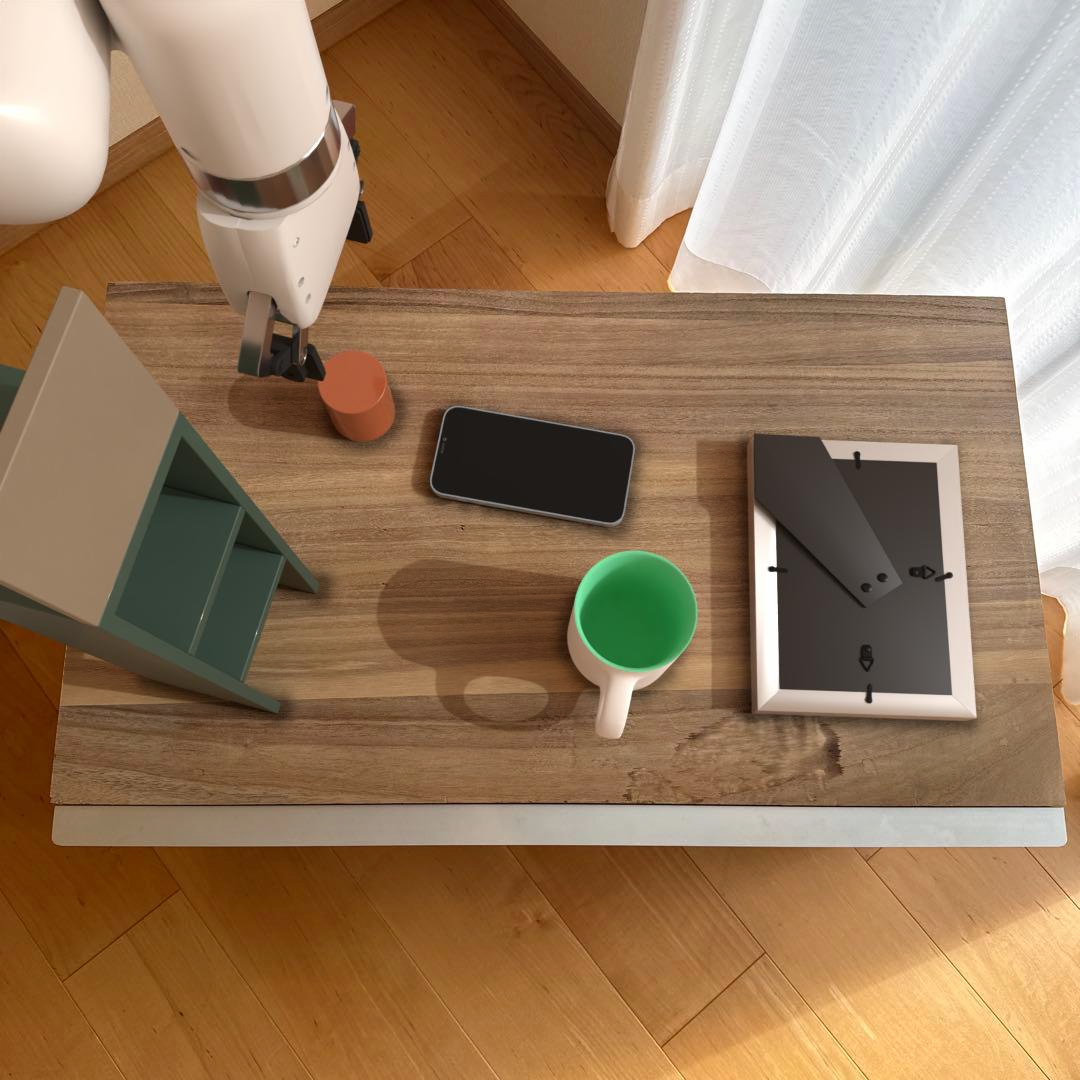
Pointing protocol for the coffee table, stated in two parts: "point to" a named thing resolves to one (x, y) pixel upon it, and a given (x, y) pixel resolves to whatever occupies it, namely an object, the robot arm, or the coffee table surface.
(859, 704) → the picture frame
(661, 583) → the mug
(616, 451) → the smartphone
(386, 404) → the canister
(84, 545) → the shelf
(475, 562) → the coffee table surface
